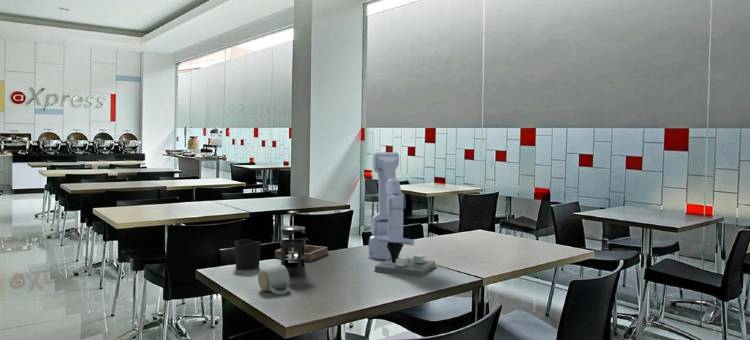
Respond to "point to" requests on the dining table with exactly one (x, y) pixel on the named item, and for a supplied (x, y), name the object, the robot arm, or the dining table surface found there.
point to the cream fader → (401, 261)
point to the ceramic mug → (274, 279)
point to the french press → (293, 267)
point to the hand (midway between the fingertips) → (394, 262)
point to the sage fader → (419, 258)
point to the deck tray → (311, 254)
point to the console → (405, 267)
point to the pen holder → (247, 254)
